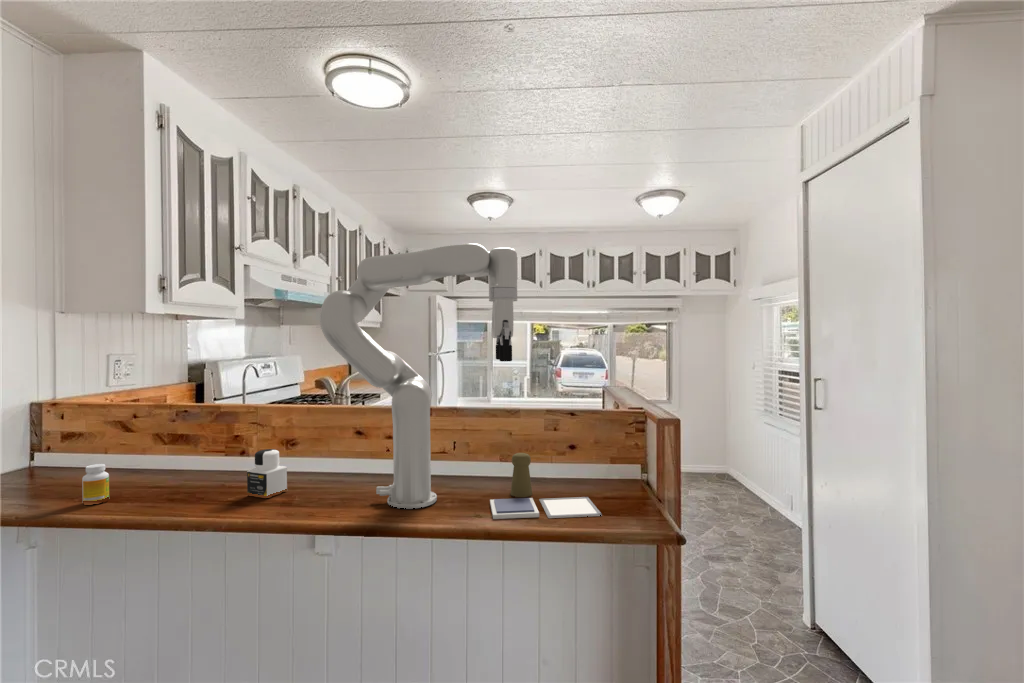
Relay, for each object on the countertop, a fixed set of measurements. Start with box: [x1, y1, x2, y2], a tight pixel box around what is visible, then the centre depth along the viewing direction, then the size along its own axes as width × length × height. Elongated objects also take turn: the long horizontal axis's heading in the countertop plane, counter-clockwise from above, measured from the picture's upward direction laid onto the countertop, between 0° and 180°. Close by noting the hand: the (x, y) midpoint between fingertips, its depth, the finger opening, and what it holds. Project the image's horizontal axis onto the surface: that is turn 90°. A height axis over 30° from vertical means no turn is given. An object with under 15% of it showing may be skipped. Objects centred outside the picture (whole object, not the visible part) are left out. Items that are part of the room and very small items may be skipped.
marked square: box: [538, 496, 603, 519], centre depth 127 cm, size 13×13×1 cm
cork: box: [509, 452, 533, 498], centre depth 138 cm, size 6×6×11 cm
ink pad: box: [489, 497, 540, 520], centre depth 125 cm, size 11×11×1 cm
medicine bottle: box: [246, 448, 288, 496], centre depth 139 cm, size 7×7×12 cm
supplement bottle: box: [81, 463, 110, 502], centre depth 132 cm, size 5×5×10 cm
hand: (503, 360), depth 134 cm, fingers open, 9 cm apart
